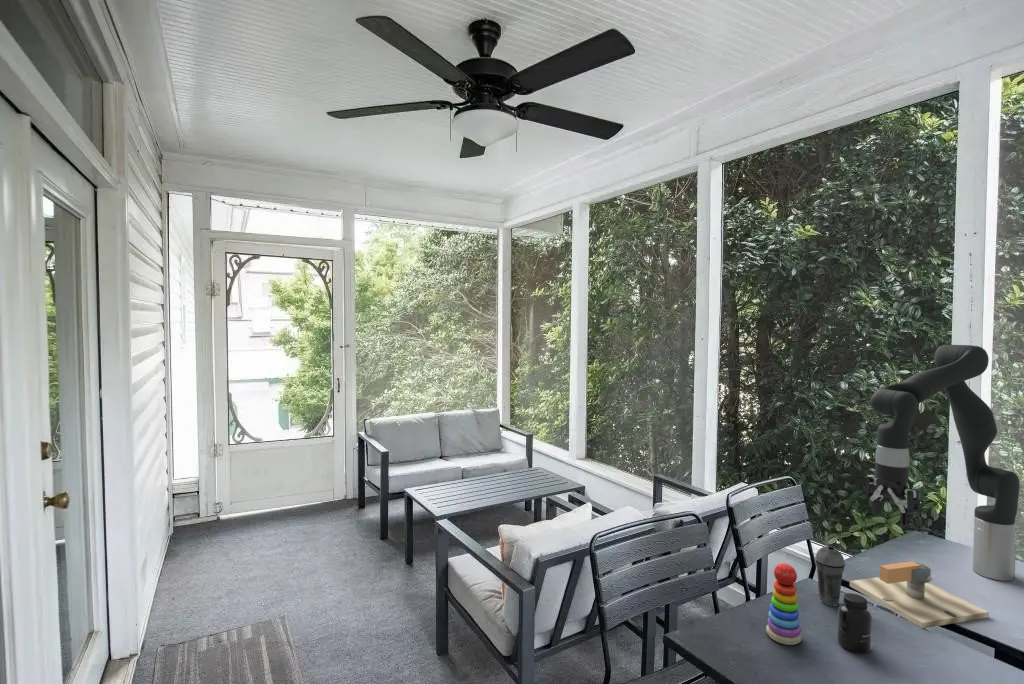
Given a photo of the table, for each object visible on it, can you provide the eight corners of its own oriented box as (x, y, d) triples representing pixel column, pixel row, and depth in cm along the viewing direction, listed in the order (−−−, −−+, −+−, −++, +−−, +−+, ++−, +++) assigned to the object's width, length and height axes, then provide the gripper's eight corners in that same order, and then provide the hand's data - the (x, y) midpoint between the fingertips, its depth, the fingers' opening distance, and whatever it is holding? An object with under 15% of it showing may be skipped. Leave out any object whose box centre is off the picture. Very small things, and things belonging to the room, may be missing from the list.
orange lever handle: (910, 569, 152) (911, 555, 152) (940, 583, 144) (940, 569, 144) (870, 574, 149) (870, 560, 149) (897, 589, 141) (898, 574, 141)
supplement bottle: (871, 658, 123) (872, 608, 122) (837, 648, 126) (838, 600, 126) (870, 643, 129) (871, 595, 128) (837, 634, 132) (838, 587, 132)
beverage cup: (850, 609, 143) (851, 537, 143) (823, 609, 144) (824, 537, 143) (834, 595, 151) (835, 526, 150) (808, 595, 151) (810, 526, 150)
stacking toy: (758, 631, 133) (759, 559, 133) (781, 624, 136) (783, 554, 136) (785, 649, 126) (786, 573, 125) (809, 642, 129) (810, 567, 128)
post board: (909, 577, 161) (910, 556, 160) (988, 617, 139) (989, 593, 139) (849, 585, 156) (850, 564, 156) (922, 628, 134) (922, 603, 134)
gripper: (928, 468, 138) (926, 529, 139) (880, 455, 152) (878, 510, 153) (904, 470, 137) (902, 531, 138) (858, 456, 151) (857, 511, 151)
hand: (890, 520), depth 145 cm, fingers open, 8 cm apart
